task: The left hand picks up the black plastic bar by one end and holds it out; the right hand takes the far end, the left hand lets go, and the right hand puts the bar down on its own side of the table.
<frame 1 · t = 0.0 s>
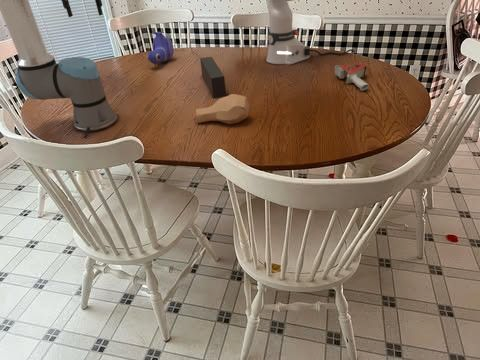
left hand: (85, 15, 157), 28 cm above the table, tool pointing down, fingers open, 13 cm apart
bar: (213, 85, 158), on the table
squash: (223, 120, 129), on the table
tape dispenser: (351, 81, 153), on the table
toy: (161, 63, 186), on the table
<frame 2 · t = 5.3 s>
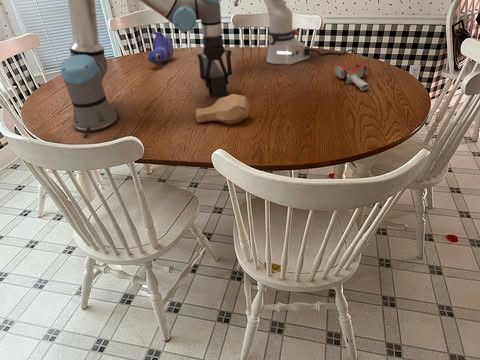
left hand: (217, 92, 149), 1 cm above the table, tool pointing down, fingers closed on bar, 5 cm apart
right hand: (225, 7, 153), 29 cm above the table, tool pointing down, fingers open, 8 cm apart
bar: (213, 85, 158), on the table, touching left hand
everything else where it was.
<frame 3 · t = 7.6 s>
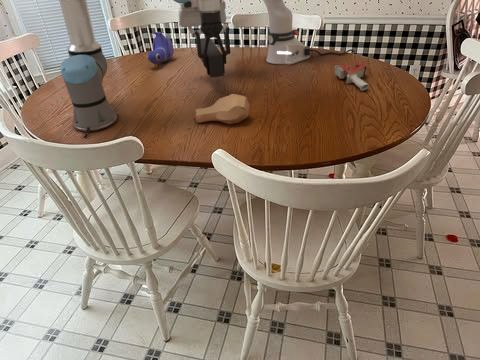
left hand: (215, 72, 144), 9 cm above the table, tool pointing down, fingers closed on bar, 5 cm apart
right hand: (204, 35, 155), 19 cm above the table, tool pointing down, fingers open, 8 cm apart
bar: (211, 66, 153), point 9 cm above the table, touching left hand
everything else where it was.
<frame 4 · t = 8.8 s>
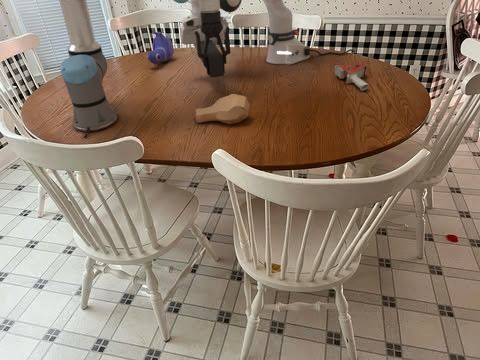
left hand: (215, 72, 144), 9 cm above the table, tool pointing down, fingers closed on bar, 5 cm apart
right hand: (206, 52, 159), 12 cm above the table, tool pointing down, fingers closed on bar, 5 cm apart
bar: (211, 66, 153), point 9 cm above the table, touching left hand, right hand
everything else where it was.
when the left hand's fingers open (9 cm above the table, at t = 9.9 s): bar stays where it is, held by the right hand.
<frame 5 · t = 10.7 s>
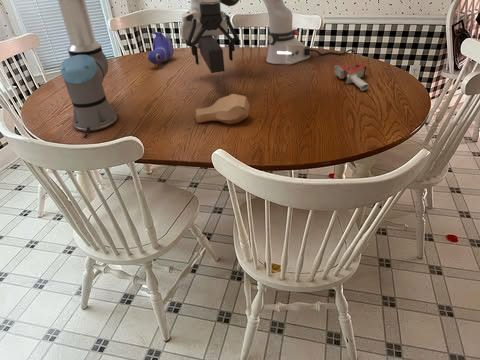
left hand: (214, 61, 140), 14 cm above the table, tool pointing down, fingers open, 13 cm apart
right hand: (206, 47, 158), 14 cm above the table, tool pointing down, fingers closed on bar, 5 cm apart
bar: (211, 61, 152), point 10 cm above the table, touching right hand
everything else where it was.
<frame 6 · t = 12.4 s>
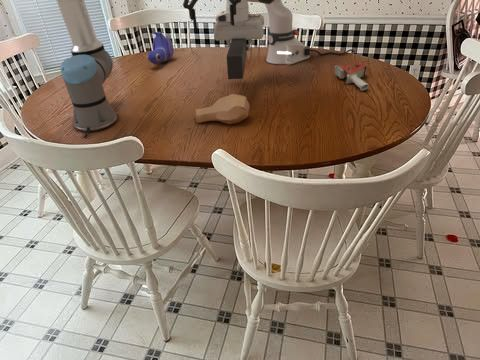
left hand: (214, 26, 128), 28 cm above the table, tool pointing down, fingers open, 13 cm apart
right hand: (239, 50, 149), 15 cm above the table, tool pointing down, fingers closed on bar, 5 cm apart
bar: (238, 66, 142), point 11 cm above the table, touching right hand
everything else where it was.
when the right hand's fingers open (4 cm above the table, at t = 15.9 s): bar stays where it is, on the table.
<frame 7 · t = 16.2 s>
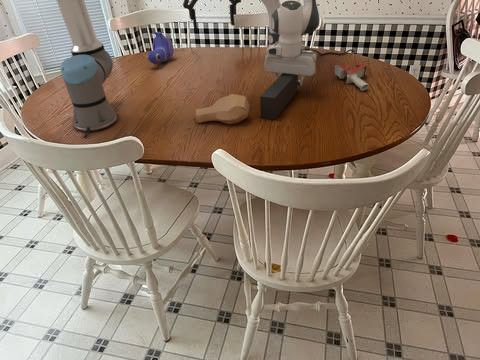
left hand: (214, 26, 128), 28 cm above the table, tool pointing down, fingers open, 13 cm apart
right hand: (289, 83, 143), 4 cm above the table, tool pointing down, fingers open, 8 cm apart
bar: (280, 103, 138), on the table
everything else where it was.
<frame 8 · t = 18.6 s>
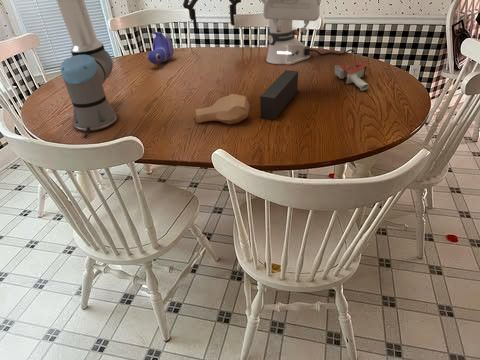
left hand: (214, 26, 128), 28 cm above the table, tool pointing down, fingers open, 13 cm apart
right hand: (290, 32, 132), 24 cm above the table, tool pointing down, fingers open, 8 cm apart
nothing on the table moved.
at the end: bar inside the target area (10.4 cm from its centre), on the table; the left hand is holding nothing; the right hand is holding nothing; bar at rest at the end (0.0 cm/s) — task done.
